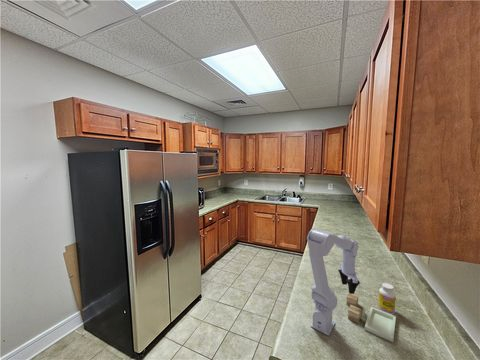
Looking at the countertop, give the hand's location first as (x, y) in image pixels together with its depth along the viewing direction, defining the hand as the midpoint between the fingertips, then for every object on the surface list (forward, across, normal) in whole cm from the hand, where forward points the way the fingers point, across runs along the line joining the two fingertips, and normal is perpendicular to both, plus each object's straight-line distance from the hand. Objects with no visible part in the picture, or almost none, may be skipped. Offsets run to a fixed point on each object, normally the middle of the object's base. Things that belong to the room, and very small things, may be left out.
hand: (347, 288), depth 103 cm
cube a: (+10, -8, 0) cm, 13 cm away
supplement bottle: (+10, -2, -18) cm, 21 cm away
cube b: (+10, +2, -3) cm, 10 cm away
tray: (+10, -12, -9) cm, 18 cm away
